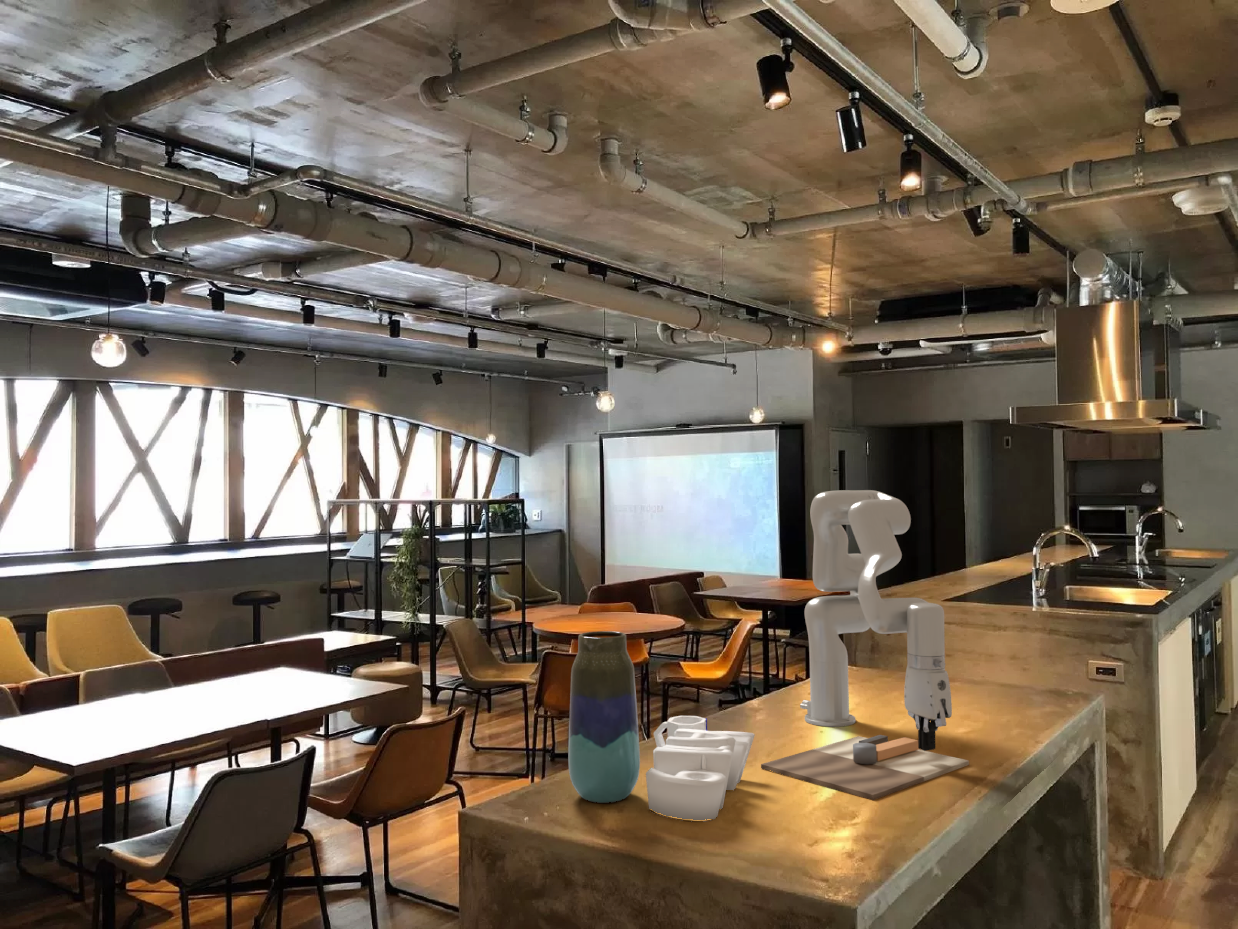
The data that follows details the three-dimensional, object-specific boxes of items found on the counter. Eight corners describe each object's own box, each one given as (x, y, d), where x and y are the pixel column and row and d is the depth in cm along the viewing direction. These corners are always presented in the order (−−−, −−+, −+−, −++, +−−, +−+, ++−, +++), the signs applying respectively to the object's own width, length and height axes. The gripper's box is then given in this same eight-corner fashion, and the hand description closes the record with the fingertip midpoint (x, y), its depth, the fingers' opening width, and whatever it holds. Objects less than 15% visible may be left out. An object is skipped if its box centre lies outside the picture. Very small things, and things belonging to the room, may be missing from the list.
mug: (713, 764, 204) (712, 718, 205) (695, 774, 197) (694, 726, 197) (664, 756, 211) (663, 712, 211) (645, 766, 203) (644, 720, 204)
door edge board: (761, 769, 200) (760, 754, 200) (858, 740, 222) (858, 727, 222) (873, 800, 179) (872, 784, 179) (969, 765, 200) (968, 751, 200)
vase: (616, 813, 174) (613, 641, 175) (554, 801, 181) (552, 636, 182) (653, 792, 185) (650, 632, 186) (594, 782, 193) (592, 627, 194)
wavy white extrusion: (688, 768, 202) (687, 718, 202) (764, 775, 196) (763, 724, 196) (629, 822, 169) (628, 762, 170) (718, 832, 163) (717, 770, 164)
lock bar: (866, 765, 197) (866, 749, 197) (848, 760, 201) (848, 745, 201) (920, 750, 208) (920, 735, 208) (902, 745, 212) (902, 731, 212)
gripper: (965, 667, 194) (966, 756, 194) (916, 654, 208) (917, 738, 208) (935, 670, 192) (936, 761, 192) (888, 657, 206) (889, 742, 205)
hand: (926, 749), depth 200 cm, fingers closed
